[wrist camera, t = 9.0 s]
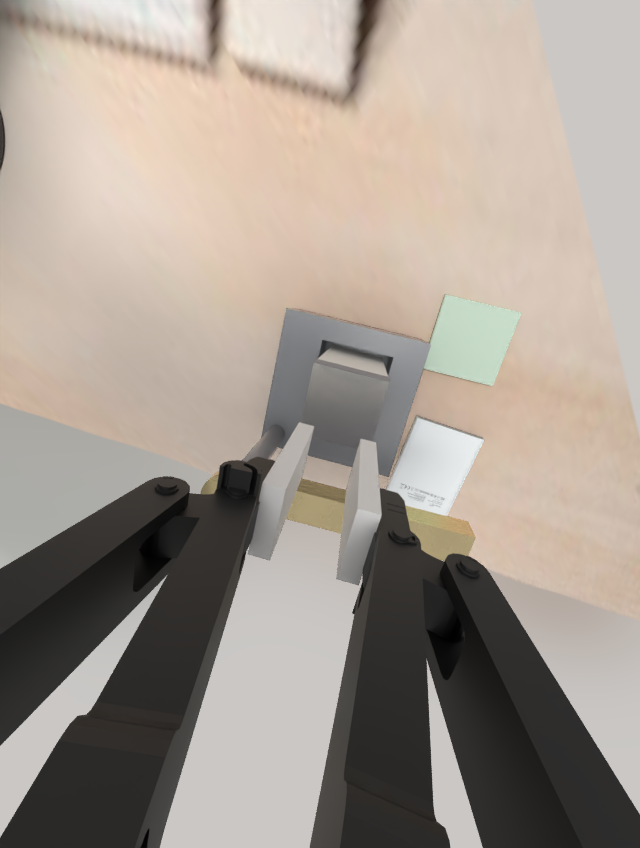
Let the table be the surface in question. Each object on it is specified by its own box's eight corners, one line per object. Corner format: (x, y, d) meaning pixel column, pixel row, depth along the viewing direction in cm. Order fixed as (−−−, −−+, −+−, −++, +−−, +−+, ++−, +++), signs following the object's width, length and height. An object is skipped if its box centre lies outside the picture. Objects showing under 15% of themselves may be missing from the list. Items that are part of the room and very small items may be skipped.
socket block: (275, 423, 46) (210, 502, 27) (299, 309, 41) (241, 305, 22) (385, 452, 45) (398, 554, 26) (420, 339, 41) (467, 362, 22)
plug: (320, 393, 42) (296, 434, 28) (332, 344, 40) (313, 361, 26) (368, 405, 42) (369, 453, 27) (382, 356, 40) (390, 381, 26)
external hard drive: (481, 435, 44) (439, 521, 48) (415, 413, 44) (379, 500, 48) (485, 440, 42) (442, 528, 46) (417, 417, 42) (379, 507, 46)
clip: (217, 492, 29) (197, 516, 25) (223, 450, 28) (203, 469, 24) (454, 555, 28) (466, 588, 24) (470, 514, 27) (485, 543, 23)
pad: (421, 367, 42) (422, 368, 41) (444, 294, 39) (445, 294, 39) (491, 385, 41) (492, 386, 41) (519, 312, 39) (521, 312, 38)
